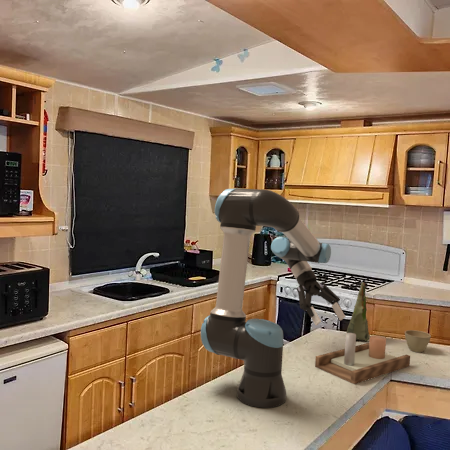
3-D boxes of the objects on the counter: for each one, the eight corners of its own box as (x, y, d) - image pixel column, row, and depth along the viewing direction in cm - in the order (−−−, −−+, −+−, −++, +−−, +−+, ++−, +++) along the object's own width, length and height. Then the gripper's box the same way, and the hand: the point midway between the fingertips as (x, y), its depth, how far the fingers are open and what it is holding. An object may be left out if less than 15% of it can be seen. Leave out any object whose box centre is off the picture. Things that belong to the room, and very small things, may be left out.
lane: (354, 384, 160) (355, 372, 160) (315, 366, 175) (315, 356, 174) (409, 366, 179) (410, 355, 179) (369, 351, 194) (370, 342, 193)
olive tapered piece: (359, 333, 218) (362, 279, 216) (377, 341, 207) (381, 285, 205) (339, 335, 214) (342, 280, 212) (356, 344, 203) (360, 286, 201)
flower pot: (425, 356, 191) (427, 339, 190) (400, 350, 197) (401, 333, 196) (432, 350, 199) (433, 333, 198) (407, 344, 205) (408, 328, 204)
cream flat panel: (360, 374, 166) (362, 340, 165) (330, 362, 176) (332, 330, 176) (401, 361, 180) (403, 330, 179) (371, 351, 191) (373, 321, 190)
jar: (367, 357, 180) (368, 339, 179) (369, 352, 185) (370, 334, 185) (384, 360, 178) (385, 341, 177) (385, 354, 183) (386, 337, 182)
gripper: (320, 277, 200) (346, 321, 189) (276, 282, 185) (302, 331, 174) (330, 267, 195) (358, 311, 184) (286, 271, 180) (313, 320, 170)
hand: (331, 321), depth 179 cm, fingers open, 13 cm apart
